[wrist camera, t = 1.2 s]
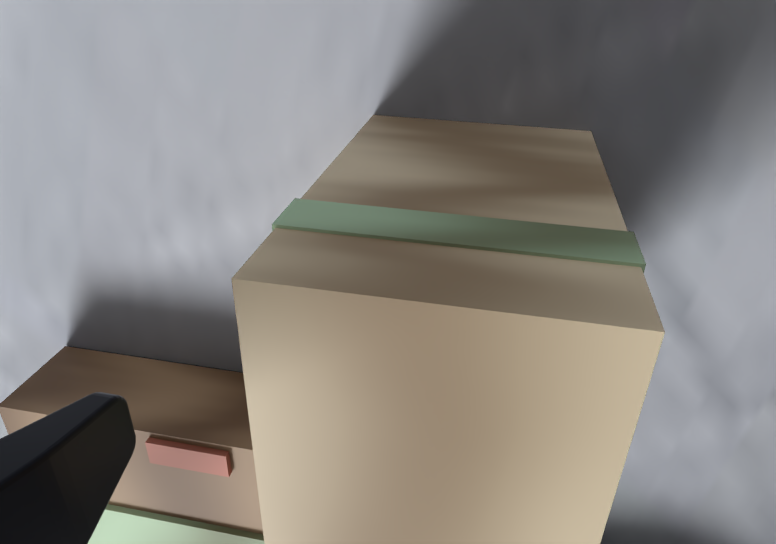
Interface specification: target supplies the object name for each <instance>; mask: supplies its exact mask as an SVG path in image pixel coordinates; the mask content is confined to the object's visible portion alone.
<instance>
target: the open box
mask: <svg viewBox="0 0 776 544" xmlns="http://www.w3.org/2000/svg"><path fill="white" fill-rule="evenodd" d="M95 392H103V393H109V394H115V395H120V396H122V397H123V398H124V399H125V400H126V401H127V404H128V408H129V411H130V415H131V419H132V423H133V427H134V431H135V435H136V444H135V449H134V452H133V454H132V457H131V459H130V461H129V463H128V465H127V467H126V469H125V471H124V473H123V475H122V477H121V479H120V481H119V483H118V485H117V487H116V489H115V491H114V493H113V495H112V497H111V499H110V501H109V503H108V505H107V507H106V509H105V511H104V513H103V515H102V517H101V519H100V521H99V523H98V525H97V526H96V528H95V530H94V532H93V534H92V536H91V538H90V540H89V542H88V544H264V536H263V528H262V519H261V511H260V503H259V495H258V487H257V479H256V471H255V463H254V455H253V447H252V439H251V431H250V423H249V415H248V407H247V399H246V391H245V383H244V375H243V373H240V372H234V371H227V370H220V369H214V368H207V367H200V366H194V365H187V364H180V363H174V362H167V361H161V360H154V359H147V358H141V357H134V356H127V355H121V354H114V353H107V352H101V351H94V350H87V349H81V348H74V347H68V346H65V347H64V348H63V349H62V350H60V351H59V352H58V353H57V354H56V355H55V356H54V357H53V358H51V359H50V360H49V361H48V362H47V363H46V364H45V365H43V366H42V367H41V368H40V369H39V370H38V371H37V372H36V373H34V374H33V375H32V376H31V377H30V378H29V379H28V380H26V381H25V382H24V383H23V384H22V385H21V386H20V387H19V388H17V389H16V390H15V391H14V392H13V393H12V394H11V395H9V396H8V397H7V398H6V399H5V400H4V401H3V402H2V403H0V414H1V417H2V419H3V422H4V424H5V427H6V429H7V432H8V434H11V433H13V432H15V431H17V430H19V429H21V428H23V427H25V426H27V425H29V424H31V423H33V422H35V421H37V420H39V419H41V418H43V417H45V416H47V415H49V414H51V413H53V412H55V411H57V410H59V409H61V408H63V407H65V406H67V405H69V404H71V403H73V402H75V401H77V400H79V399H81V398H83V397H85V396H87V395H90V394H92V393H95Z"/></svg>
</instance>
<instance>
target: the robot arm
mask: <svg viewBox="0 0 776 544" xmlns="http://www.w3.org/2000/svg"><path fill="white" fill-rule="evenodd" d="M135 444H136V435H135V431H134V427H133V423H132V419H131V415H130V411H129V408H128V404H127V401H126V400H125V399H124V398H123V397H122V396H120V395H115V394H109V393H103V392H95V393H92V394H90V395H87V396H85V397H83V398H81V399H79V400H77V401H75V402H73V403H71V404H69V405H67V406H65V407H63V408H61V409H59V410H57V411H55V412H53V413H51V414H49V415H47V416H45V417H43V418H41V419H39V420H37V421H35V422H33V423H31V424H29V425H27V426H25V427H23V428H21V429H19V430H17V431H15V432H13V433H11V434H9V435H7V436H5V437H3V438H1V439H0V544H88V542H89V540H90V538H91V536H92V534H93V532H94V530H95V528H96V526H97V525H98V523H99V521H100V519H101V517H102V515H103V513H104V511H105V509H106V507H107V505H108V503H109V501H110V499H111V497H112V495H113V493H114V491H115V489H116V487H117V485H118V483H119V481H120V479H121V477H122V475H123V473H124V471H125V469H126V467H127V465H128V463H129V461H130V459H131V457H132V454H133V452H134V449H135Z"/></svg>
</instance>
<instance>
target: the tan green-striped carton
mask: <svg viewBox="0 0 776 544" xmlns="http://www.w3.org/2000/svg"><path fill="white" fill-rule="evenodd" d="M272 230H273V231H272V232H271V234H270V235H269V236H268V237H267V238H266V239H265V241H264V242H263V243H262V244H261V245H260V246H259V247H258V249H257V250H256V251H255V252H254V253H253V254H252V256H251V257H250V258H249V259H248V260H247V261H246V262H245V264H244V265H243V266H242V267H241V268H240V269H239V271H238V272H237V273H236V274H235V275H234V276H233V277H232V287H233V295H234V303H235V311H236V319H237V327H238V335H239V343H240V351H241V359H242V367H243V375H244V383H245V391H246V399H247V407H248V415H249V423H250V431H251V439H252V447H253V455H254V463H255V471H256V479H257V487H258V495H259V503H260V511H261V519H262V528H263V536H264V544H600V542H601V539H602V536H603V532H604V529H605V526H606V523H607V519H608V516H609V513H610V510H611V506H612V503H613V500H614V497H615V493H616V490H617V487H618V483H619V480H620V477H621V474H622V470H623V467H624V464H625V461H626V457H627V454H628V451H629V448H630V444H631V441H632V438H633V435H634V431H635V428H636V425H637V422H638V418H639V415H640V412H641V409H642V405H643V402H644V399H645V396H646V392H647V389H648V386H649V383H650V379H651V376H652V373H653V369H654V366H655V363H656V360H657V356H658V353H659V350H660V347H661V343H662V340H663V337H664V334H665V331H664V328H663V326H662V323H661V320H660V318H659V315H658V312H657V309H656V307H655V304H654V301H653V298H652V296H651V293H650V290H649V288H648V285H647V282H646V279H645V277H644V274H643V273H644V270H645V266H646V263H645V260H644V258H643V255H642V253H641V250H640V247H639V245H638V242H637V240H636V237H635V234H634V232H630V231H628V230H627V228H626V225H625V222H624V219H623V217H622V214H621V211H620V209H619V206H618V203H617V200H616V198H615V195H614V192H613V189H612V187H611V184H610V181H609V179H608V176H607V173H606V170H605V168H604V165H603V162H602V159H601V157H600V154H599V151H598V149H597V146H596V143H595V140H594V138H593V135H592V132H591V131H583V130H570V129H556V128H543V127H529V126H516V125H502V124H489V123H475V122H462V121H448V120H435V119H421V118H408V117H394V116H381V115H373V116H372V117H371V118H370V119H369V121H368V122H367V123H366V124H365V125H364V126H363V127H362V129H361V130H360V131H359V132H358V133H357V134H356V136H355V137H354V138H353V139H352V140H351V141H350V142H349V144H348V145H347V146H346V147H345V148H344V149H343V151H342V152H341V153H340V154H339V155H338V156H337V157H336V159H335V160H334V161H333V162H332V163H331V164H330V166H329V167H328V168H327V169H326V170H325V171H324V172H323V174H322V175H321V176H320V177H319V178H318V179H317V181H316V182H315V183H314V184H313V185H312V186H311V187H310V189H309V190H308V191H307V192H306V193H305V194H304V196H303V197H302V198H301V199H297V198H295V199H294V200H293V201H292V202H291V203H290V205H289V206H288V207H287V208H286V209H285V210H284V211H283V212H282V214H281V215H280V216H279V217H278V218H277V219H276V220H275V221H274V223H273V224H272Z"/></svg>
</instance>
